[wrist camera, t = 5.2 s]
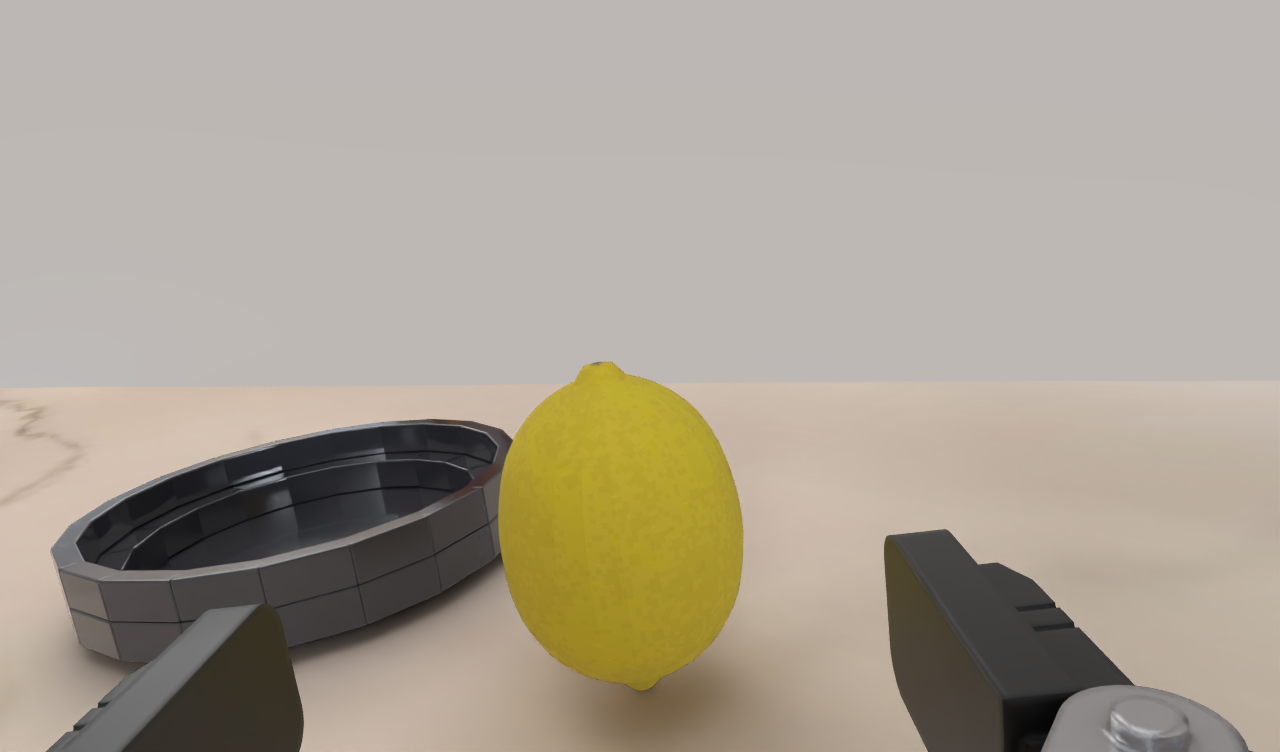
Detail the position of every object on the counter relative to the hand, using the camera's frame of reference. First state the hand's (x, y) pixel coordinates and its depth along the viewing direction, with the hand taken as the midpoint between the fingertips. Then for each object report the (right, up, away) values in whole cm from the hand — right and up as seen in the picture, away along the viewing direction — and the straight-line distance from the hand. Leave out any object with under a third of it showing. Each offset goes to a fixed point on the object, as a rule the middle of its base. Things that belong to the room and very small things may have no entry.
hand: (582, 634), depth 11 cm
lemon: (+1, -4, +9) cm, 10 cm away
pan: (-11, -3, +19) cm, 22 cm away
